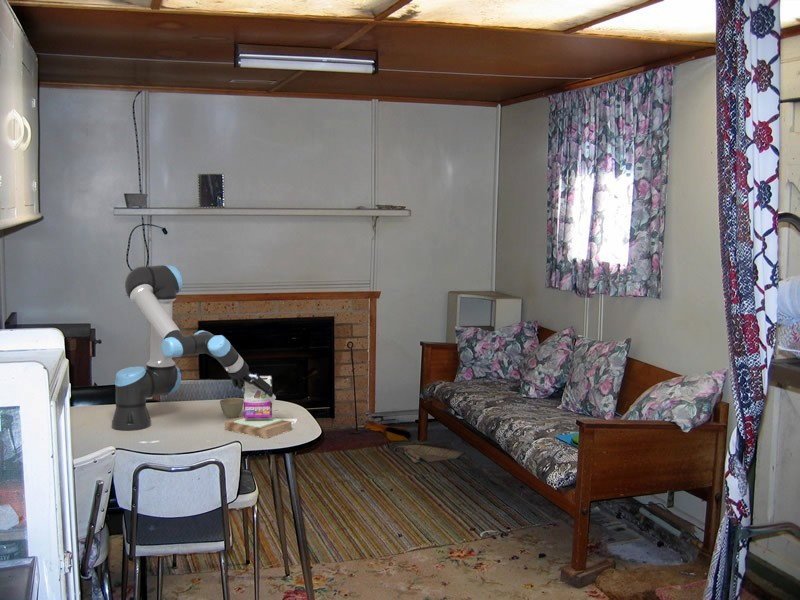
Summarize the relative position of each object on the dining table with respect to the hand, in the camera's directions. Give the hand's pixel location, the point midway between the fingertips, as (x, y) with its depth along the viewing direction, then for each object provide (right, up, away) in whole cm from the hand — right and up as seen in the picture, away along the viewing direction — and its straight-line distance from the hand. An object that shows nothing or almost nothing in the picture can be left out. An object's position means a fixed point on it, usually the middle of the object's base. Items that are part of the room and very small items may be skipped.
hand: (262, 397), depth 342 cm
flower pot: (-16, -11, +19) cm, 27 cm away
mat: (-2, -9, -1) cm, 10 cm away
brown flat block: (-2, -13, -1) cm, 13 cm away
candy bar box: (-2, -8, -1) cm, 8 cm away
